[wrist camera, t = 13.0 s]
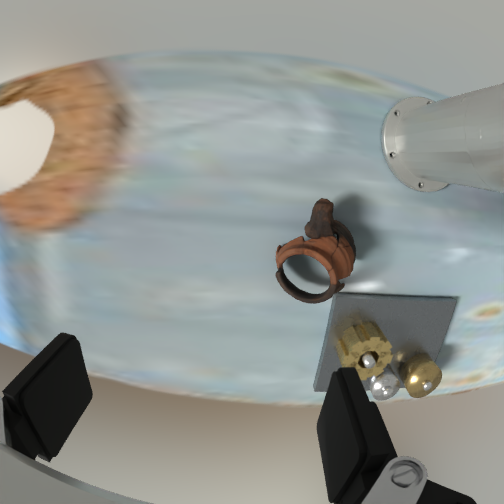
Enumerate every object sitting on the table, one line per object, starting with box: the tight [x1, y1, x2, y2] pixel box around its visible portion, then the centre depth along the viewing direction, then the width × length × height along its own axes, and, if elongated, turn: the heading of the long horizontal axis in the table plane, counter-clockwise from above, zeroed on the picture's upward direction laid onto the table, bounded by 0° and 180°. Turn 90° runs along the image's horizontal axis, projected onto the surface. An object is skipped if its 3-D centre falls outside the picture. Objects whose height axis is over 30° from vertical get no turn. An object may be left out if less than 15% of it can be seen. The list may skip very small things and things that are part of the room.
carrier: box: [313, 293, 457, 400], centre depth 38 cm, size 20×16×6 cm
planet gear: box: [336, 322, 393, 380], centre depth 37 cm, size 7×7×4 cm
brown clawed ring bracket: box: [276, 198, 356, 303], centre depth 35 cm, size 12×10×8 cm
